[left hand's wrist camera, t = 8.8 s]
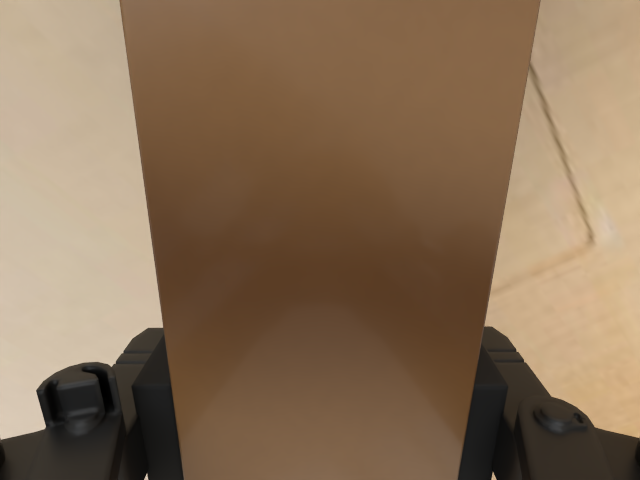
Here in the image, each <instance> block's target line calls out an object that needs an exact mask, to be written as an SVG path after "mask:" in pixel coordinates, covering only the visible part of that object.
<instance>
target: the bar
mask: <svg viewBox="0 0 640 480" xmlns="http://www.w3.org/2000/svg"><path fill="white" fill-rule="evenodd" d="M539 6H540V0H120V7H121V15H122V22H123V30H124V37H125V45H126V52H127V60H128V67H129V74H130V82H131V89H132V97H133V104H134V112H135V119H136V127H137V134H138V141H139V149H140V156H141V164H142V171H143V179H144V186H145V194H146V201H147V208H148V216H149V223H150V231H151V238H152V246H153V253H154V261H155V268H156V275H157V283H158V290H159V298H160V305H161V313H162V320H163V328H164V335H165V342H166V350H167V357H168V365H169V372H170V380H171V387H172V395H173V402H174V409H175V417H176V424H177V432H178V439H179V447H180V454H181V462H182V469H183V476H184V480H458V475H459V469H460V463H461V458H462V452H463V446H464V440H465V434H466V429H467V423H468V417H469V411H470V405H471V400H472V394H473V388H474V382H475V376H476V371H477V365H478V359H479V353H480V348H481V342H482V336H483V330H484V324H485V319H486V313H487V307H488V301H489V295H490V290H491V284H492V278H493V272H494V267H495V261H496V255H497V249H498V243H499V238H500V232H501V226H502V220H503V214H504V209H505V203H506V197H507V191H508V185H509V180H510V174H511V168H512V162H513V157H514V151H515V145H516V139H517V133H518V128H519V122H520V116H521V110H522V104H523V99H524V93H525V87H526V81H527V76H528V70H529V64H530V58H531V52H532V47H533V41H534V35H535V29H536V23H537V18H538V12H539Z"/></svg>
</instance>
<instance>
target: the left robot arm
mask: <svg viewBox="0 0 640 480" xmlns="http://www.w3.org/2000/svg"><path fill="white" fill-rule="evenodd" d="M36 392H37V395H38V399H39V402H40V406H41V410H42V413H43V417H44V420H45V424H46V428H45V429H44V430H41V431H37V432H34V433H29V434H25V435H20V436H16V437H12V438H7V439H3V440H1V439H0V480H144V478H145V476H146V474H148V479H149V480H184V476H183V469H182V462H181V454H180V447H179V439H178V432H177V424H176V417H175V409H174V402H173V395H172V387H171V380H170V372H169V365H168V357H167V350H166V342H165V335H164V328H147V329H146V330H145V331H143V332H142V333H140V334H139V335H137V336H136V337H134V338H133V339H132V340H131V342H130V343H129V344H128V346H127V347H126V349H125V350H124V353H123V354H121V355H120V357H119V358H118V359H117V361H116V364H114V365H113V366H112V367H111V366H109V365H108V364H104V363H100V362H89V363H81V364H77V365H74V366H70V367H67V368H65V369H63V370H61V371H58V372H56V373H54V374H53V375H52V376H50V377H49V378H47V379H46V380H45V381H43V383H42V384H41V385H40V386H39V388H38V389H37V390H36ZM493 472H494V475H495V477H496V479H497V480H640V438H636V437H632V436H628V435H623V434H619V433H614V432H610V431H605V430H602V429H599V428H595V427H594V425H593V424H592V422H591V421H590V419H589V418H588V416H587V415H585V414H584V413H583V412H582V411H580V410H579V409H578V408H577V407H575V406H573V405H571V404H569V403H567V402H565V401H563V400H561V399H557V398H554V397H551V396H550V394H549V393H548V392H547V390H546V389H545V388H544V386H543V385H542V383H541V382H540V381H539V379H538V378H537V377H536V375H535V374H534V373H533V371H532V370H531V369H530V367H529V366H528V365H527V363H524V359H523V358H522V357H521V355H520V354H519V352H516V348H515V347H514V346H513V344H512V343H511V342H510V340H509V339H508V338H507V337H506V336H505V335H503V334H502V333H500V332H499V331H497V330H496V329H494V328H493V327H484V330H483V336H482V342H481V348H480V353H479V359H478V365H477V371H476V376H475V382H474V388H473V394H472V400H471V405H470V411H469V417H468V423H467V429H466V434H465V440H464V446H463V452H462V458H461V463H460V469H459V475H458V480H491V478H492V473H493Z"/></svg>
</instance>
